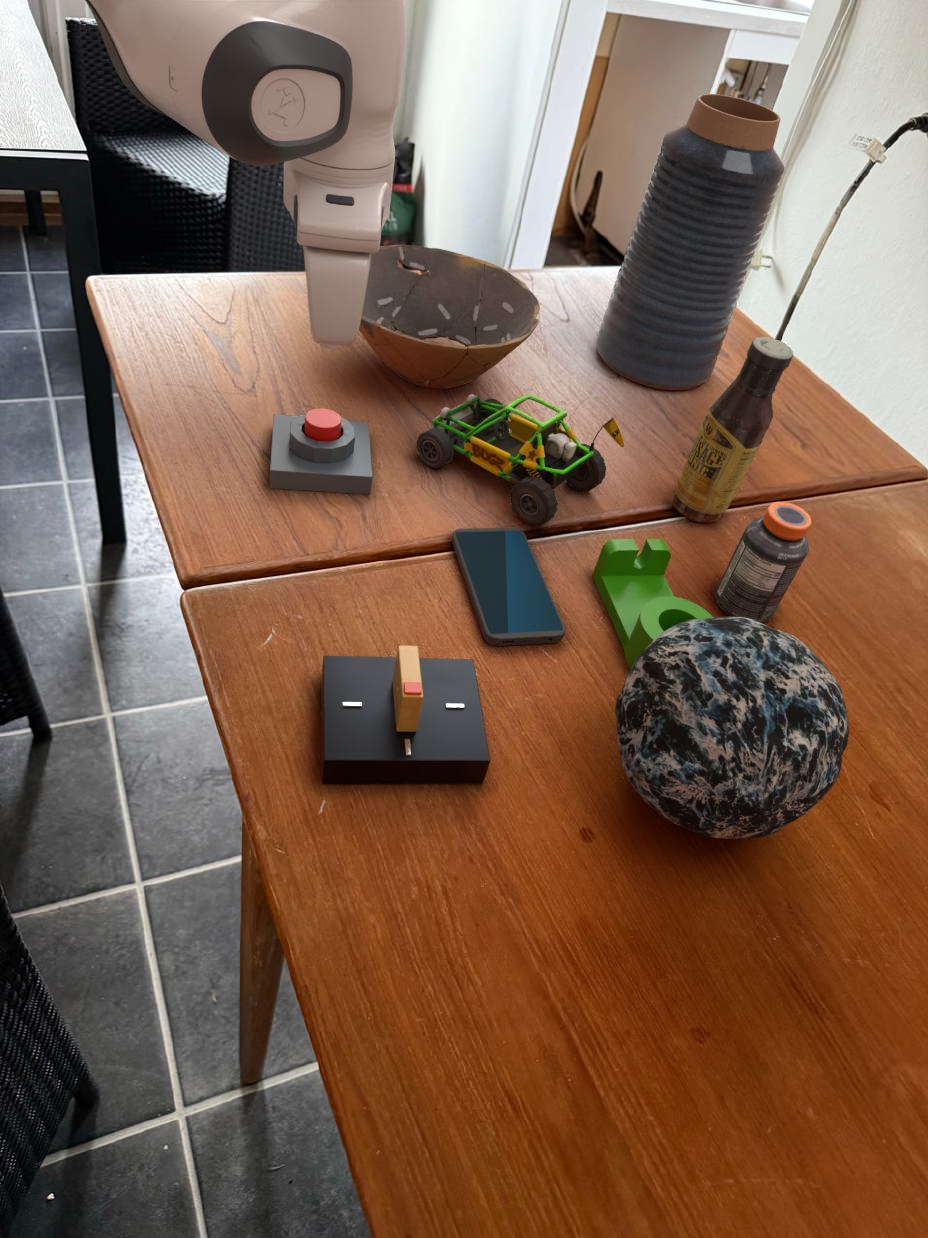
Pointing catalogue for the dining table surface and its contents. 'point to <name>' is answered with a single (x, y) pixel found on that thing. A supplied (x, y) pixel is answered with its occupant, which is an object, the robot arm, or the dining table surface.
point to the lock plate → (366, 724)
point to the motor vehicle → (517, 451)
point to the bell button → (322, 425)
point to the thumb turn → (407, 689)
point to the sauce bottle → (731, 434)
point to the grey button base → (320, 458)
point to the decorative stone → (730, 727)
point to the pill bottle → (765, 563)
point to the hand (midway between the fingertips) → (329, 341)
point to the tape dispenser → (640, 593)
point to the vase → (692, 244)
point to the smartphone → (507, 587)
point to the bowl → (443, 314)
